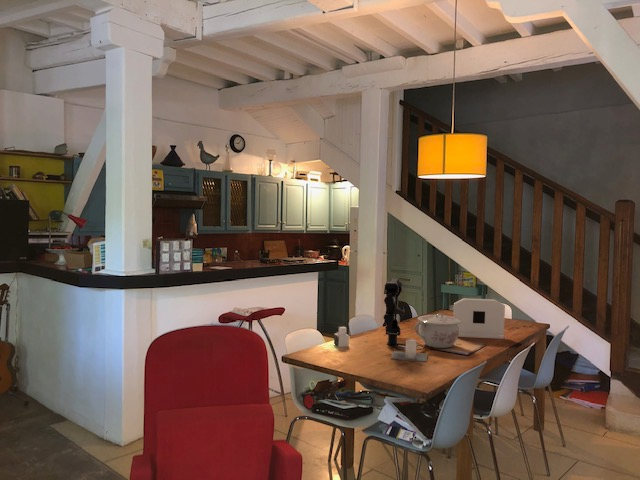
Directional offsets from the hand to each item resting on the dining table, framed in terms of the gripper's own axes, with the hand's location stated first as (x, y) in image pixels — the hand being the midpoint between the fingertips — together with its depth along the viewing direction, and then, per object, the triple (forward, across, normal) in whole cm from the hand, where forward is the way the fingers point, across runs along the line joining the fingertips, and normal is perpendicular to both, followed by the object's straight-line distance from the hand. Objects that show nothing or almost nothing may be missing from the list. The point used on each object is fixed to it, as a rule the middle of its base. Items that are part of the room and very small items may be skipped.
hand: (390, 328), depth 318 cm
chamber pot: (+13, +20, -28) cm, 37 cm away
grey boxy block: (+14, +63, -52) cm, 83 cm away
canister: (+12, -16, -14) cm, 25 cm away
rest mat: (+13, -12, -13) cm, 22 cm away
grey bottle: (+13, 0, +30) cm, 33 cm away
